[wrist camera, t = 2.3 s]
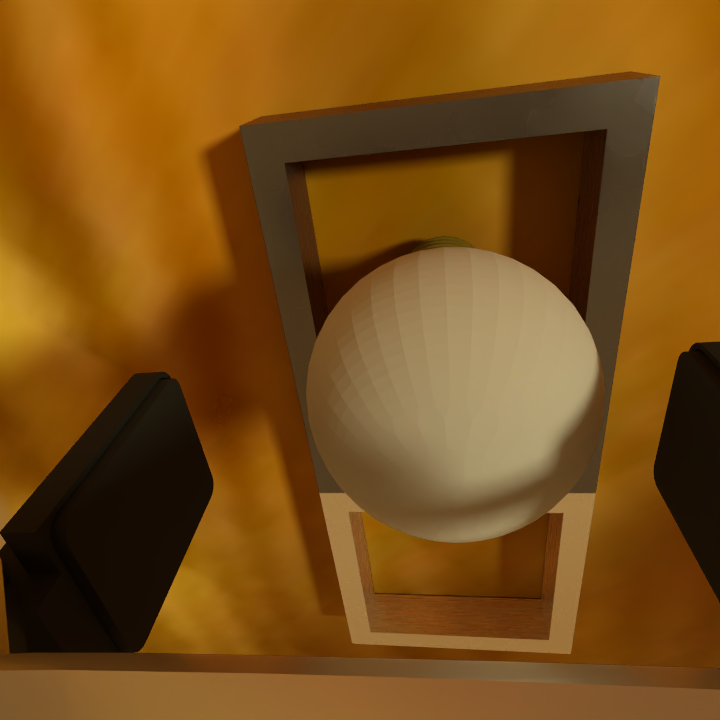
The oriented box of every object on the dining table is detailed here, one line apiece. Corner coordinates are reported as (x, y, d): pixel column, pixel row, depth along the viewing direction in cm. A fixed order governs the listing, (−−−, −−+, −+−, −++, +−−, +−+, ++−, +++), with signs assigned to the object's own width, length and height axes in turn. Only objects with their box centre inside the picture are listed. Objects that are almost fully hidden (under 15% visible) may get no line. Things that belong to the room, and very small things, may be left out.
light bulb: (578, 238, 16) (750, 467, 7) (464, 374, 19) (491, 648, 10) (414, 132, 15) (392, 253, 6) (321, 293, 18) (219, 523, 9)
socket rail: (631, 71, 13) (659, 76, 12) (561, 612, 25) (570, 653, 23) (261, 116, 15) (239, 126, 13) (357, 605, 27) (352, 643, 25)
